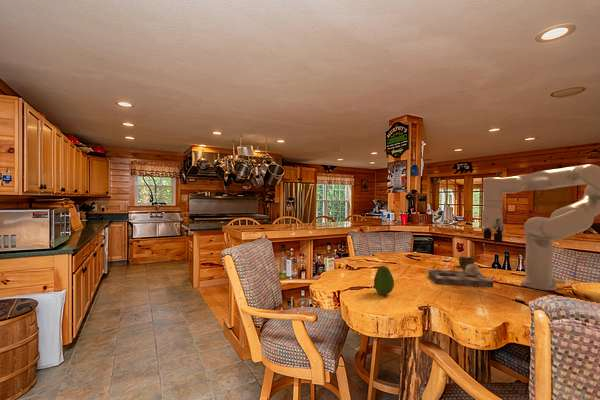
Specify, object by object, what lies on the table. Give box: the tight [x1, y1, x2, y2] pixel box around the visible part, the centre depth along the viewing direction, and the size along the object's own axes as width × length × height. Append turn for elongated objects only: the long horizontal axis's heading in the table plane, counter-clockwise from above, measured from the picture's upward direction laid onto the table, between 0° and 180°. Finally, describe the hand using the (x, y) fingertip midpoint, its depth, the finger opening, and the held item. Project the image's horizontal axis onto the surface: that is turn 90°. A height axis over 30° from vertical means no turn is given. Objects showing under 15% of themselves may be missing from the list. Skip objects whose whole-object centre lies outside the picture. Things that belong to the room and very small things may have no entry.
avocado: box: [373, 265, 395, 296], centre depth 120 cm, size 8×8×12 cm
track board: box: [428, 268, 494, 288], centre depth 140 cm, size 24×14×4 cm, turn 80°
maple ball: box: [465, 263, 481, 277], centre depth 139 cm, size 6×6×6 cm
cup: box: [458, 256, 476, 271], centre depth 156 cm, size 8×7×8 cm
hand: (492, 240), depth 136 cm, fingers open, 9 cm apart
